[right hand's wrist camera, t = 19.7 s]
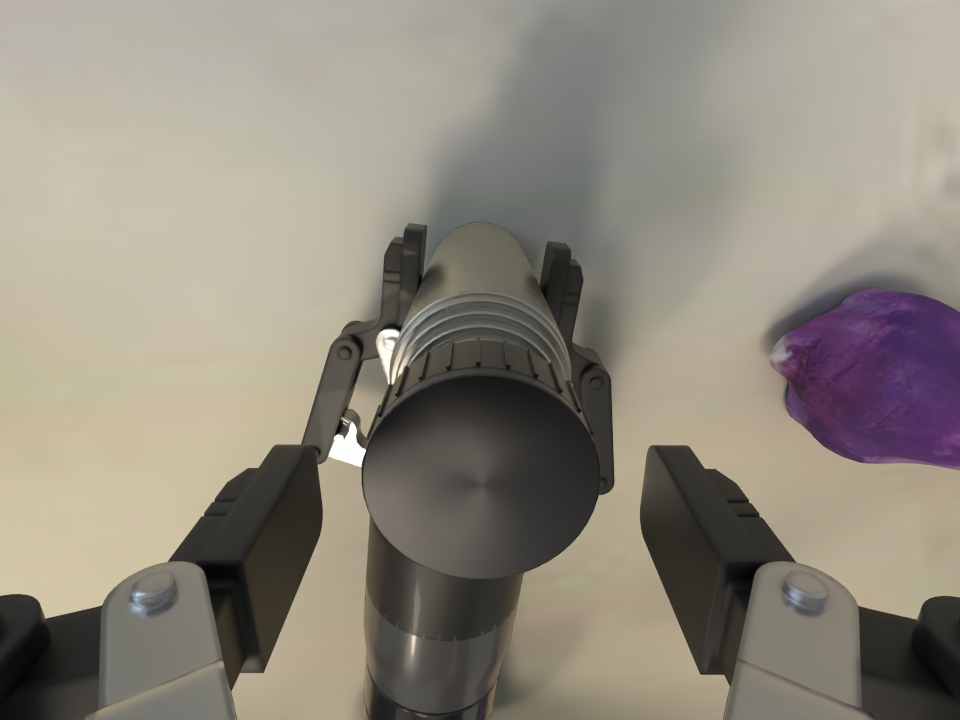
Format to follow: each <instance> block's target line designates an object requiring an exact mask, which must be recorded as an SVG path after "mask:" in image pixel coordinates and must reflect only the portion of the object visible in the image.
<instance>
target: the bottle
mask: <svg viewBox="0 0 960 720" xmlns="http://www.w3.org/2000/svg"><path fill="white" fill-rule="evenodd" d="M476 338H480V340H490V341H499V342H503V340H506V341H507V343H509V344H513V345H516V346H519V347H522V348H524V349H526V350H528V349H529V348H530V349H532V350H533V353H535V354H537V355H538V356H540V357H541V358H543V359H544V360H546V361H547V362H548V363H550V362H552V363H554V365H555V368H556V369H557V370H558V372H559V373H560V374H561V375H562V376H563V377H564V378H565V379H566V381H567V380H570V382H571V363H570V358H569V354H568V350H567V348H566V345H565V342H564V340H563V338H562V335H561V333H560V331H559V329H558V326H557V324H556V322H555V320H554V317H553V315H552V313H551V311H550V308H549V306H548V304H547V302H546V300H545V297H544V295H543V293H542V291H541V288H540V286H539V284H538V282H537V279H536V277H535V275H534V273H533V271H532V268H531V266H530V264H529V262H528V259H527V257H526V255H525V253H524V250H523V249H522V247H521V245H520V244H519V242H518V241H517V240H516V239H515V238H514V237H513V236H512V235H511V234H510V233H509V232H507V231H506V230H504V229H502V228H500V227H498V226H496V225H492V224H488V223H471V224H466V225H463V226H461V227H458V228H456V229H454V230H453V231H451V232H450V233H449V234H447V235H446V236H445V237H444V238H443V239H442V240H441V242H440V243H439V245H438V246H437V248H436V250H435V252H434V254H433V256H432V259H431V261H430V263H429V266H428V268H427V271H426V273H425V275H424V278H423V280H422V282H421V285H420V287H419V289H418V292H417V294H416V296H415V299H414V301H413V303H412V306H411V308H410V310H409V313H408V315H407V317H406V320H405V322H404V324H403V327H402V329H401V331H400V334H399V336H398V339H397V341H396V344H395V346H394V349H393V351H392V356H391V360H390V369H389V380H390V384H392V385H393V383H394V382H395V380H396V379H397V378H398V377H399V376H400V375H401V373H402V371H403V368H404V367H405V366H406V365H407V366H408V367H409V366H410V365H411V364H412V363H413V362H415V361H416V360H417V359H419V358H421V357H422V356H424V353H425V352H426V351H429V352H431V351H433V350H435V349H438V348H440V347H443V346H446V345H449V342H452V341H453V342H454V343H457V342H463V341H471V340H476Z"/></svg>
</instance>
